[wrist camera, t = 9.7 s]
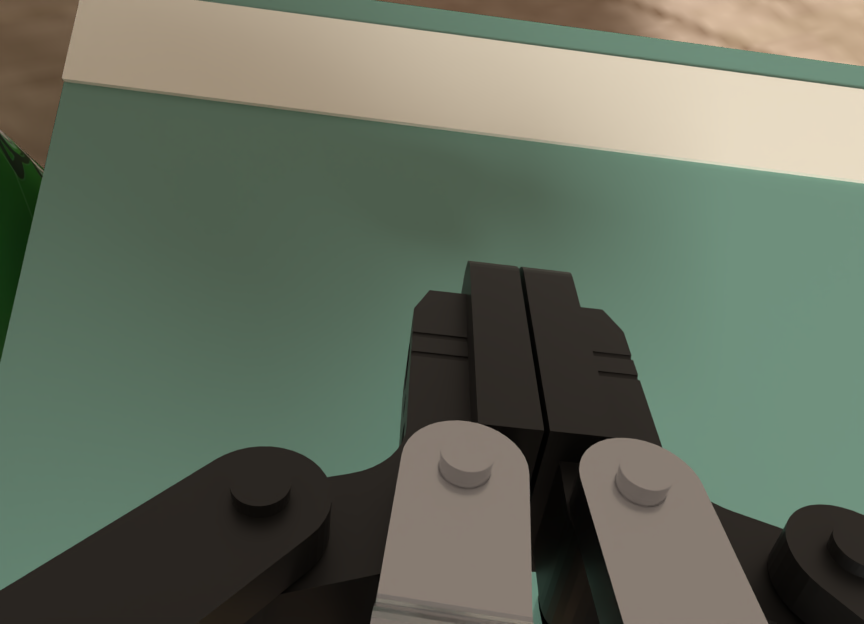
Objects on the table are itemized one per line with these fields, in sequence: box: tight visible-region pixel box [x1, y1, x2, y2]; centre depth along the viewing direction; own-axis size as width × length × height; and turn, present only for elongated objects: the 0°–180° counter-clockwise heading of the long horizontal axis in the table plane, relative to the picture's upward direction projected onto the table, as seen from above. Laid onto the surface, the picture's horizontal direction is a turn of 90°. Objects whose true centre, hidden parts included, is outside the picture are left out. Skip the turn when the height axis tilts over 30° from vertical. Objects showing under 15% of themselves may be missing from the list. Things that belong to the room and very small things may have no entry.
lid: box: [0, 0, 864, 612], centre depth 14 cm, size 17×14×1 cm
